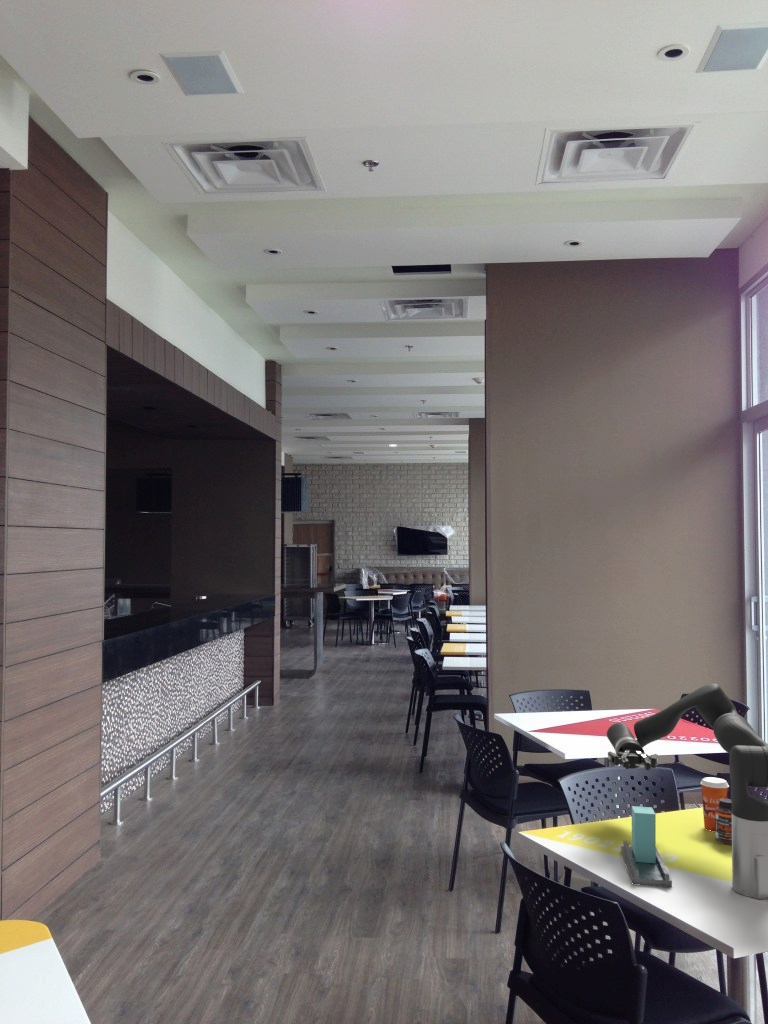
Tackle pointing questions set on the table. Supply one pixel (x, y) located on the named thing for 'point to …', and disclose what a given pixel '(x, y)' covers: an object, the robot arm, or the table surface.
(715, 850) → the table surface
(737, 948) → the table surface
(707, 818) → the paper cup
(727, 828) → the supplement bottle
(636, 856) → the teal block
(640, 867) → the charcoal chute
